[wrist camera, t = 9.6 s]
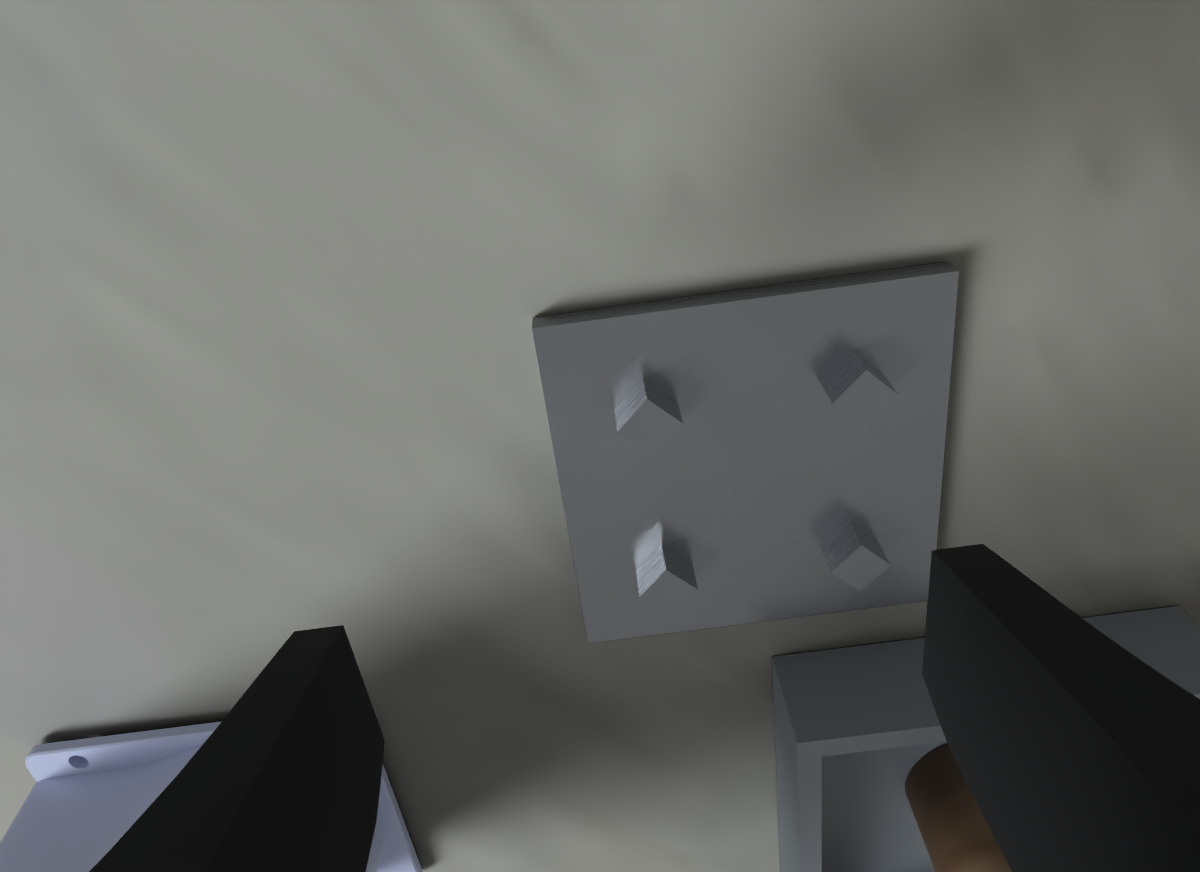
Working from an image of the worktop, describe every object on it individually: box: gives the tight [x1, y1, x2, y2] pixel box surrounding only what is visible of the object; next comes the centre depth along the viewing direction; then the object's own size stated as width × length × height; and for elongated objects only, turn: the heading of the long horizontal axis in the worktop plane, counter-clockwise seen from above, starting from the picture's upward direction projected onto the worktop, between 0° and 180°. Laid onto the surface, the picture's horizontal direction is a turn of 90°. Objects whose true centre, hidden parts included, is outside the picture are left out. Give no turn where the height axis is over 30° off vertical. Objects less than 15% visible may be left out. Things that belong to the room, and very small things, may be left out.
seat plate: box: [532, 262, 959, 643], centre depth 21 cm, size 9×9×2 cm
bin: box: [772, 606, 1200, 872], centre depth 26 cm, size 11×11×3 cm
